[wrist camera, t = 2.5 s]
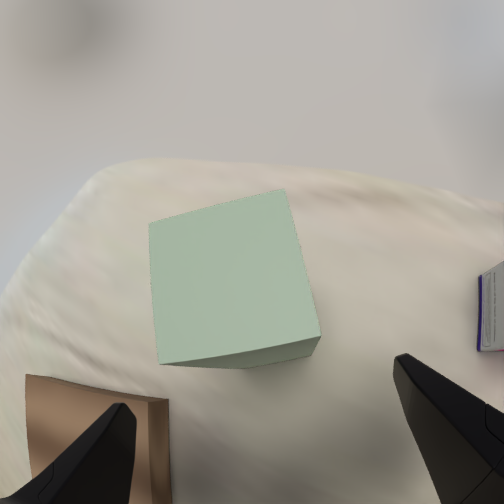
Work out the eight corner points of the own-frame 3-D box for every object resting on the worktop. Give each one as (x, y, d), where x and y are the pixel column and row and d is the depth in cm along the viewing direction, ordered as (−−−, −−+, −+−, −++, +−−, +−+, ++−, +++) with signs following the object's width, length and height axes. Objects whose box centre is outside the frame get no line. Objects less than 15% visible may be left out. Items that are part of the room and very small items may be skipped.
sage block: (311, 355, 19) (321, 335, 8) (242, 368, 19) (158, 364, 8) (296, 289, 20) (284, 188, 9) (231, 303, 21) (148, 223, 10)
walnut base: (175, 537, 14) (158, 554, 12) (58, 494, 16) (36, 501, 13) (168, 399, 19) (147, 402, 16) (49, 376, 21) (25, 374, 18)
